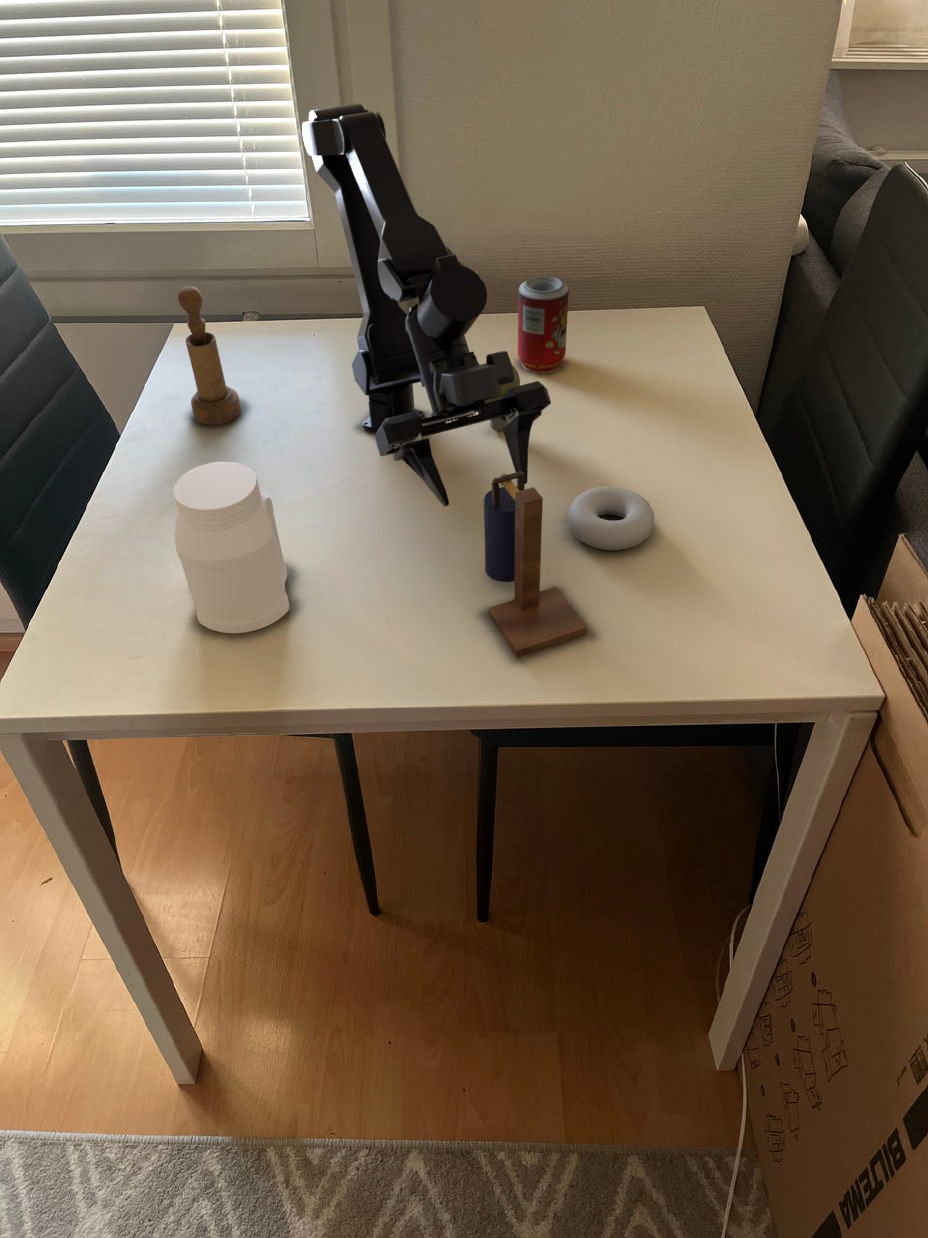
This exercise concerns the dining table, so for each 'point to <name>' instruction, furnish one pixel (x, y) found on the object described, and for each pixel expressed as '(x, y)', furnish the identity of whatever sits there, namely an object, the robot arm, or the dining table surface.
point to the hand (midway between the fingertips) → (486, 494)
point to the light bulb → (498, 422)
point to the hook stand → (532, 587)
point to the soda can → (542, 323)
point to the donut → (611, 532)
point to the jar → (229, 548)
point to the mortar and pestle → (206, 367)
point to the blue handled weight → (501, 529)
